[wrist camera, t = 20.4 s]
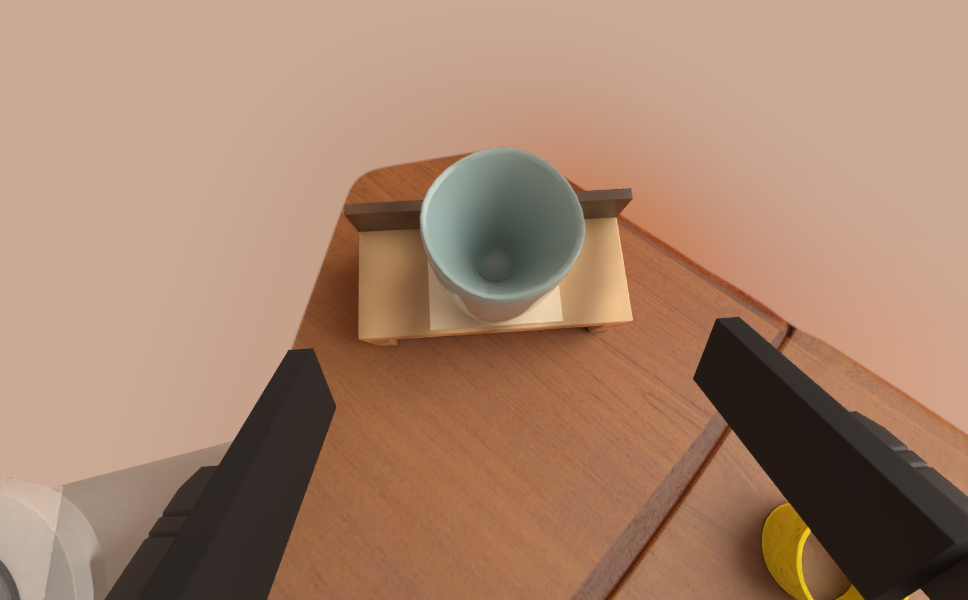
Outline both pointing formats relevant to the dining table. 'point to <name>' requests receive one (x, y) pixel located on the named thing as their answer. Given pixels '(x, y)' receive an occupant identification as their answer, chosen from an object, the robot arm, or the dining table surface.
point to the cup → (501, 232)
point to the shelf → (430, 313)
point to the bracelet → (790, 552)
